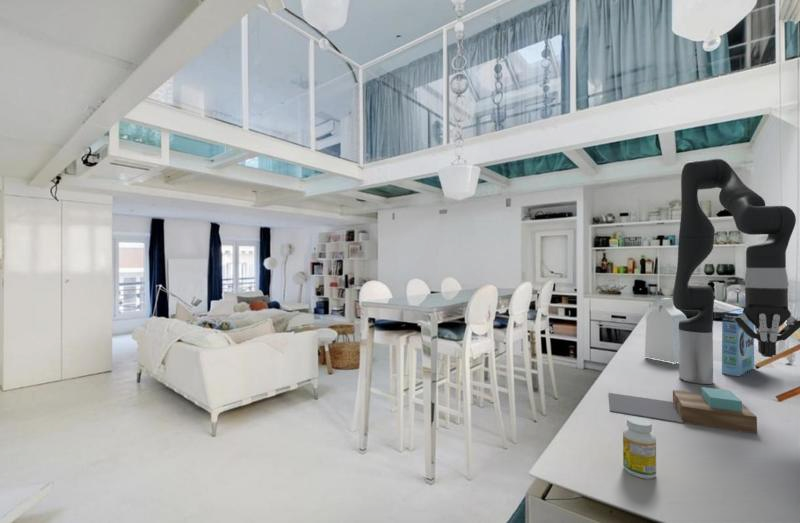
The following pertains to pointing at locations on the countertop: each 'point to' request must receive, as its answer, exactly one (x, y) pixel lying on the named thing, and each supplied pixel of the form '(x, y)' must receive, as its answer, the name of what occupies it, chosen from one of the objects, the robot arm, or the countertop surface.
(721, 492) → the countertop surface
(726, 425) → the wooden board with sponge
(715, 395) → the teal foam pad
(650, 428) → the supplement bottle
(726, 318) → the gum box
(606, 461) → the countertop surface
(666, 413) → the mat
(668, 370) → the countertop surface
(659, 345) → the milk
